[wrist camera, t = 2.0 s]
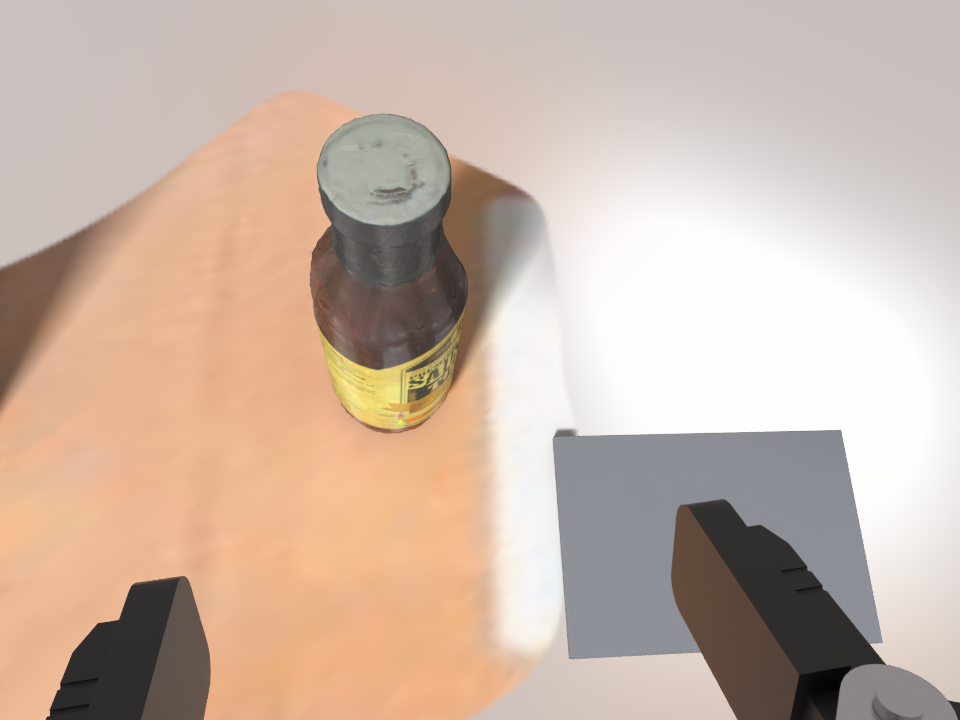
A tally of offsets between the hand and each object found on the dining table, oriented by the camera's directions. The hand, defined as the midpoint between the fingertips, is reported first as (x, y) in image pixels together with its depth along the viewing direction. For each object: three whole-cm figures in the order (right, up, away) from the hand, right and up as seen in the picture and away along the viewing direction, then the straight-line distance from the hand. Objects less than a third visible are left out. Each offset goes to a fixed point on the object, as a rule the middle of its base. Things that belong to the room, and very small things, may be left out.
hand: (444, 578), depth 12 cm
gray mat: (+13, -6, +27) cm, 31 cm away
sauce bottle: (-4, +3, +29) cm, 29 cm away
